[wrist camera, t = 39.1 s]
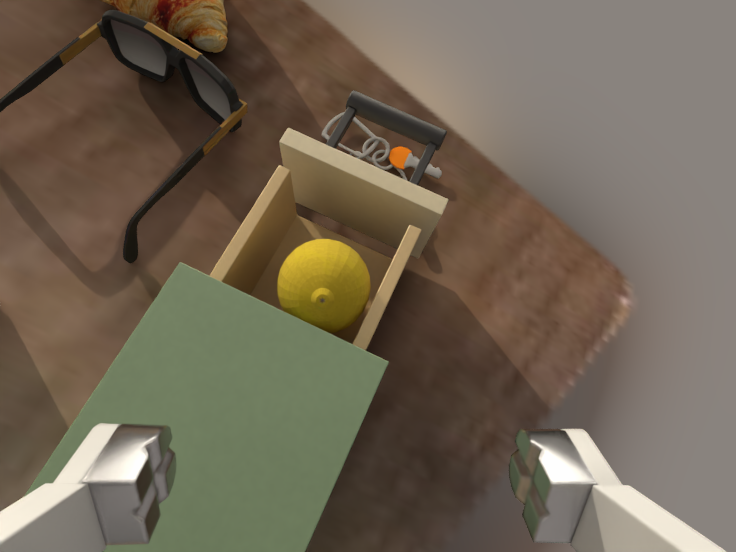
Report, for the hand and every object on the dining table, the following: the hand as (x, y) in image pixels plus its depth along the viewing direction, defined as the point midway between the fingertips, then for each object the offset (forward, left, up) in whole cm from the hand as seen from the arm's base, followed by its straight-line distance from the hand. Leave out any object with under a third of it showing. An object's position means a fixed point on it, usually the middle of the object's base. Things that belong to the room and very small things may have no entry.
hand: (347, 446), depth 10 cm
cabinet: (-3, +5, -20) cm, 21 cm away
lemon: (+9, +5, -18) cm, 21 cm away
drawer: (+11, +5, -19) cm, 23 cm away
